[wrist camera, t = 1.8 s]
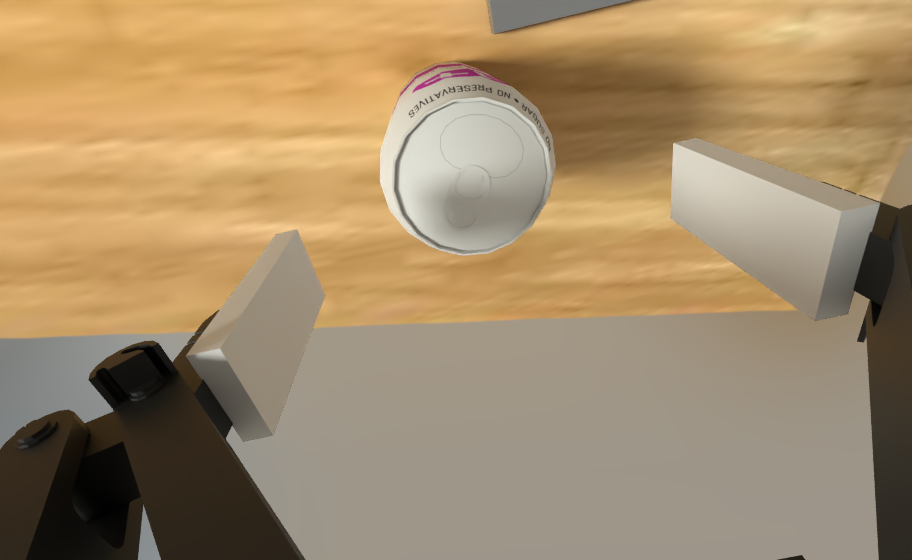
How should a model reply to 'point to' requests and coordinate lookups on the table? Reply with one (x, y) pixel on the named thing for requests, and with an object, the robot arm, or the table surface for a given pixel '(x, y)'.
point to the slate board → (537, 11)
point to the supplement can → (465, 160)
